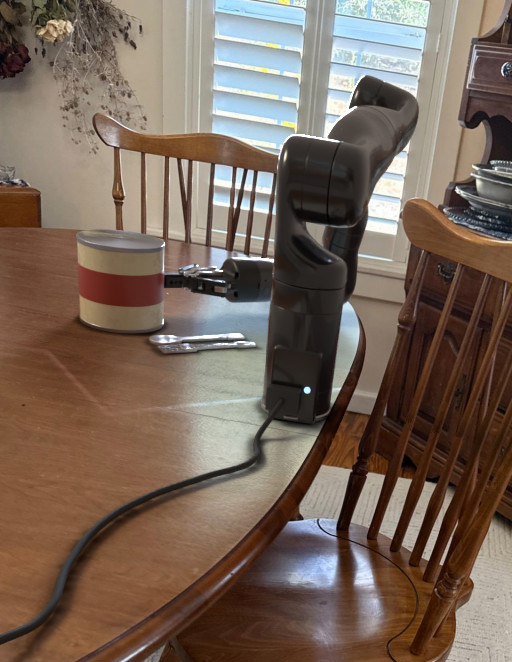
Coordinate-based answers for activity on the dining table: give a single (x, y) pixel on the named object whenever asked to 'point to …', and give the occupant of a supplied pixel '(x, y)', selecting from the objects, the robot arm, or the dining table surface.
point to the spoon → (191, 338)
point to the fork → (203, 347)
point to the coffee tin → (120, 280)
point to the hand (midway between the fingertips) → (159, 280)
